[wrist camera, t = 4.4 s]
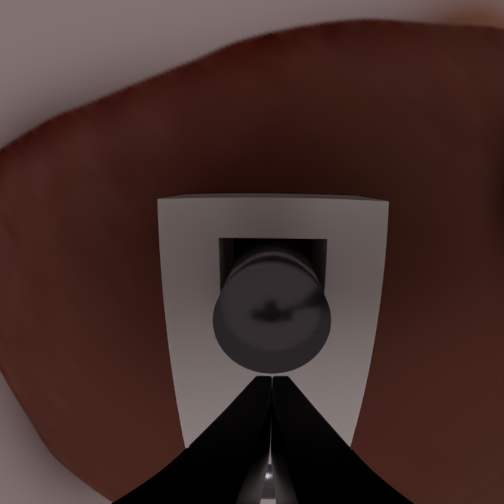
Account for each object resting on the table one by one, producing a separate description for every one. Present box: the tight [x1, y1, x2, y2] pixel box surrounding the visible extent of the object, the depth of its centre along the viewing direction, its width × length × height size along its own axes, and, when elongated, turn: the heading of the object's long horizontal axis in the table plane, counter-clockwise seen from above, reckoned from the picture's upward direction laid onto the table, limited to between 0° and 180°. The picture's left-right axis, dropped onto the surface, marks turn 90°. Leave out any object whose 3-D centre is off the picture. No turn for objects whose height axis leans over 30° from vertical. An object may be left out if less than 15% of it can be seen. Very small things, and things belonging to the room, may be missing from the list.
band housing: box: [157, 193, 389, 504], centre depth 18 cm, size 10×22×5 cm, turn 0°
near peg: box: [213, 241, 331, 374], centre depth 13 cm, size 4×4×5 cm
